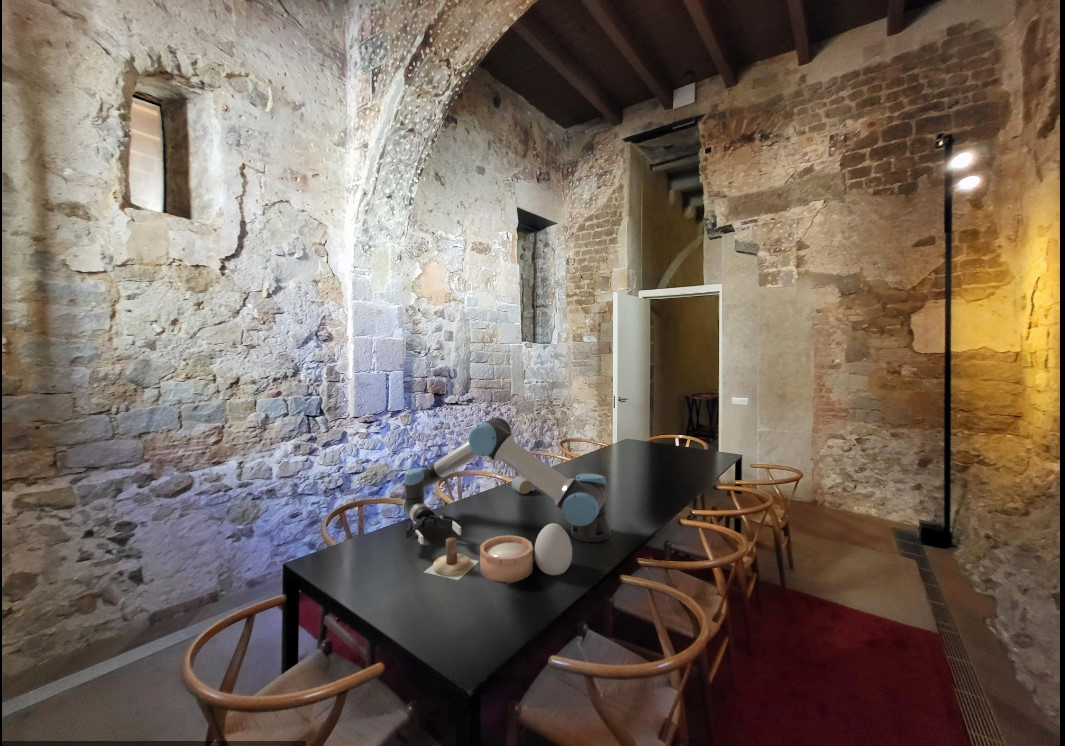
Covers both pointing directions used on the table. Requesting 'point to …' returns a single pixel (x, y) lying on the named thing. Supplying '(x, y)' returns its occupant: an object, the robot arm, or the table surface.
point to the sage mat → (456, 577)
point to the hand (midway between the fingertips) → (441, 535)
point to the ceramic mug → (521, 485)
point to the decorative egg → (553, 550)
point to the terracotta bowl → (506, 558)
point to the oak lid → (451, 560)
